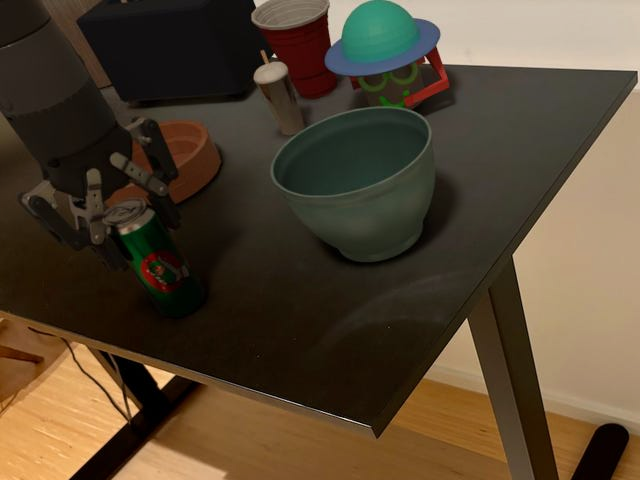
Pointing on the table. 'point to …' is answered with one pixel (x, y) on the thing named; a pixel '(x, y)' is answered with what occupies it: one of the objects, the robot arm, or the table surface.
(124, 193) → the terracotta plant saucer
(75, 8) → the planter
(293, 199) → the flower pot
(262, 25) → the plastic cup
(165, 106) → the table surface
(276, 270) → the table surface
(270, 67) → the milkshake
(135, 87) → the speaker
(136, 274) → the soda can
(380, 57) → the toy robot
